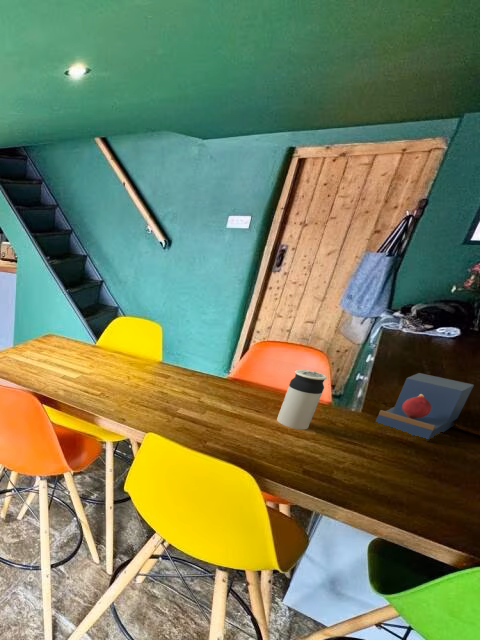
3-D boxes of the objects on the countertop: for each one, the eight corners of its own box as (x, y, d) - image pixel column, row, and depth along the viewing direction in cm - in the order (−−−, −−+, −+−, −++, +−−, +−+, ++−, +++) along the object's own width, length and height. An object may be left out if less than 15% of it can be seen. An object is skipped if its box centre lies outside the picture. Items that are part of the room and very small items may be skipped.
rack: (402, 411, 137) (419, 372, 132) (453, 425, 127) (474, 384, 122) (373, 425, 127) (390, 384, 122) (426, 442, 117) (447, 398, 112)
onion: (426, 419, 122) (438, 396, 119) (422, 424, 119) (434, 400, 116) (400, 412, 127) (411, 389, 124) (395, 416, 124) (406, 393, 121)
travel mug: (313, 431, 124) (335, 377, 117) (294, 434, 122) (315, 379, 115) (287, 419, 131) (306, 368, 124) (269, 422, 129) (288, 370, 122)
